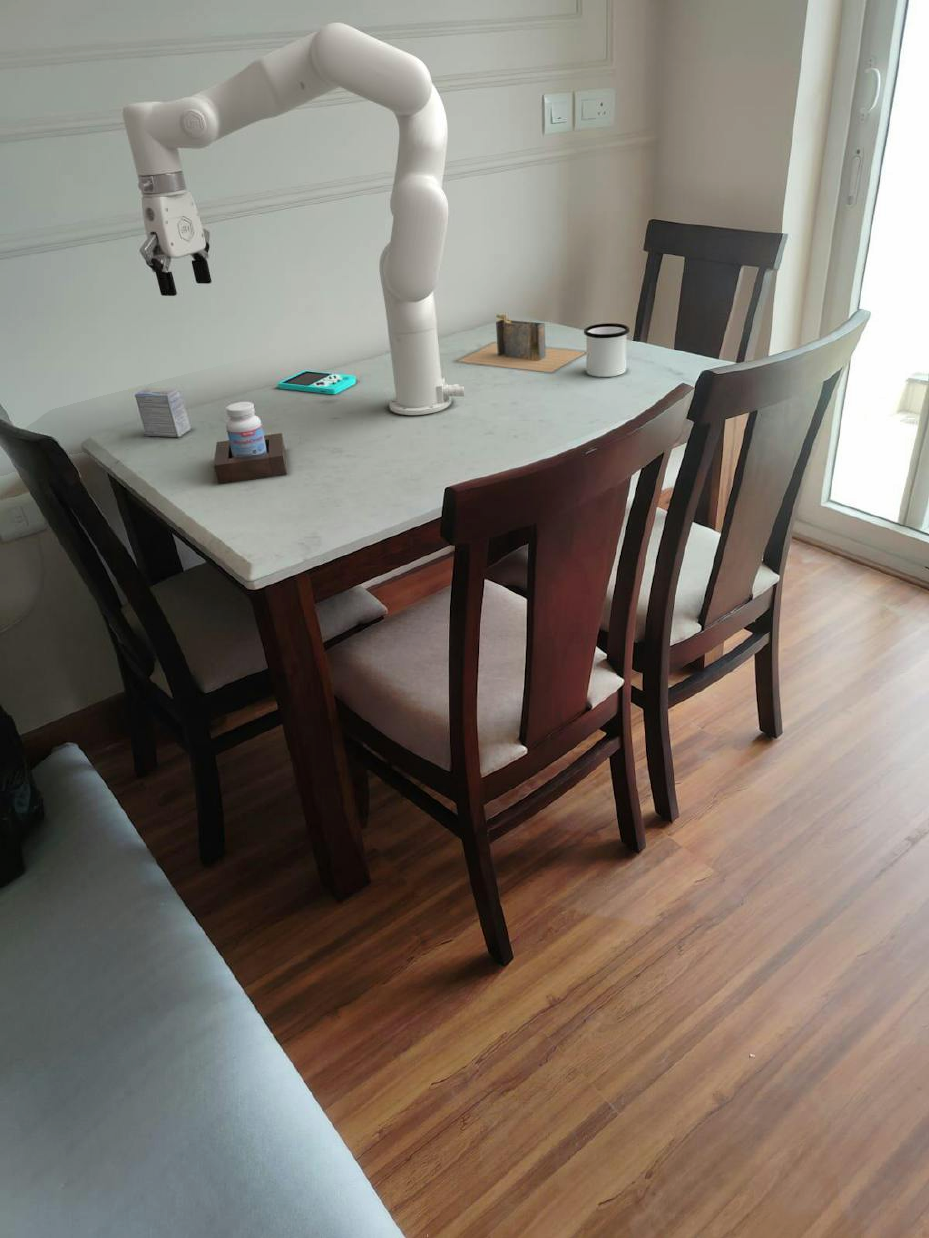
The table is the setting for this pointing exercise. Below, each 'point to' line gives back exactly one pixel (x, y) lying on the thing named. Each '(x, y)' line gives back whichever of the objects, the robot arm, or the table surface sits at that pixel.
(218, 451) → the holder
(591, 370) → the mug
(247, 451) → the pill bottle
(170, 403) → the medicine box
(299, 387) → the handheld game console
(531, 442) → the table surface
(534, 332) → the architectural model on board
